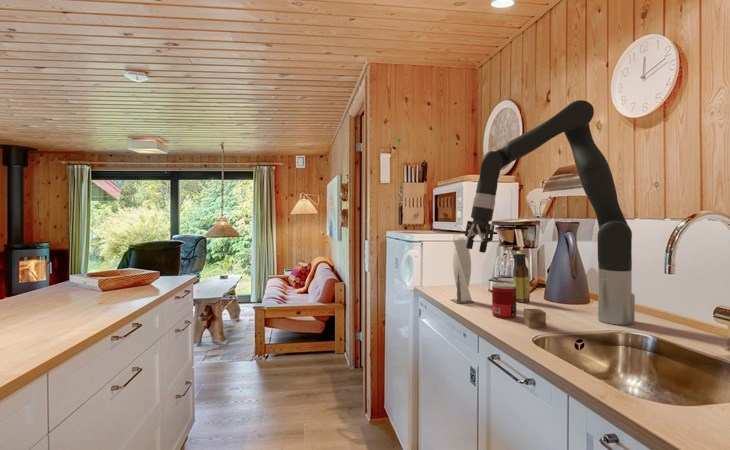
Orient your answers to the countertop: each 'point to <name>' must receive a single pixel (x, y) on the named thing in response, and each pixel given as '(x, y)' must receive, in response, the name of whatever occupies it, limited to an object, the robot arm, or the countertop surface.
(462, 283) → the skyscraper
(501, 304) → the canned food
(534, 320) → the walnut cube
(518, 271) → the sauce bottle
